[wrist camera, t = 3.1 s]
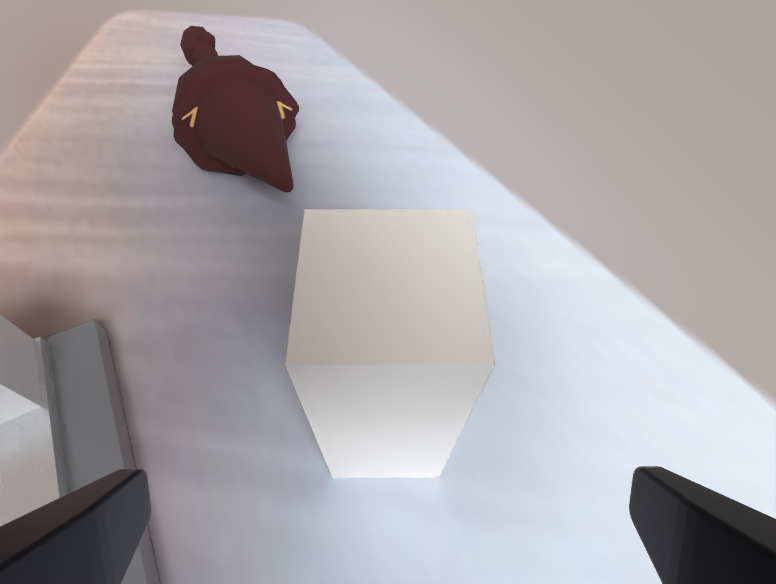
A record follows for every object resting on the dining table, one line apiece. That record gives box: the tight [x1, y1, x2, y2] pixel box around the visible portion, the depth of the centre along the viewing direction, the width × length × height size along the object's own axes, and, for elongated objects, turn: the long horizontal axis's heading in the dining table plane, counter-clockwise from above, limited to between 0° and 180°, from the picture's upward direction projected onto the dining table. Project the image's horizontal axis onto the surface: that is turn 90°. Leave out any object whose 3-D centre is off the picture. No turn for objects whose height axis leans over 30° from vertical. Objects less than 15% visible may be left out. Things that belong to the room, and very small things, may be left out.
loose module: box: [285, 209, 495, 478], centre depth 16 cm, size 5×4×12 cm
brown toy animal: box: [172, 26, 299, 192], centre depth 27 cm, size 7×7×15 cm
